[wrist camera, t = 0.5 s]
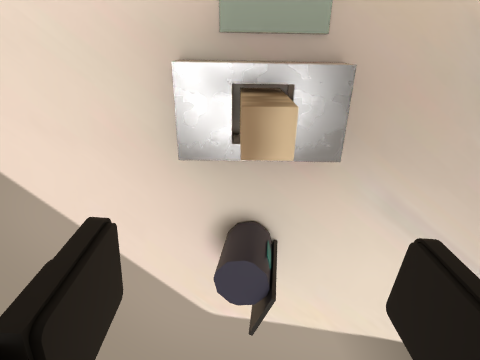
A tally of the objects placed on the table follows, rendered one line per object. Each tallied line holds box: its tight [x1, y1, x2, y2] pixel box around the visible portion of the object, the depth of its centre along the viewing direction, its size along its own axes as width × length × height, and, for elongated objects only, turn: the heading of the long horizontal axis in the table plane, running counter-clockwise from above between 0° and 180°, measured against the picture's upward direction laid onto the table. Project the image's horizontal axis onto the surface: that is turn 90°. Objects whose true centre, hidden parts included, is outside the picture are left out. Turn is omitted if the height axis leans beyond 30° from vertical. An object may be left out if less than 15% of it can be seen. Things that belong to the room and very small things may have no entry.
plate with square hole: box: [172, 60, 356, 162], centre depth 29 cm, size 16×9×4 cm, turn 89°
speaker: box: [214, 222, 277, 335], centre depth 33 cm, size 8×6×10 cm
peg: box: [240, 88, 299, 161], centre depth 26 cm, size 4×4×10 cm
